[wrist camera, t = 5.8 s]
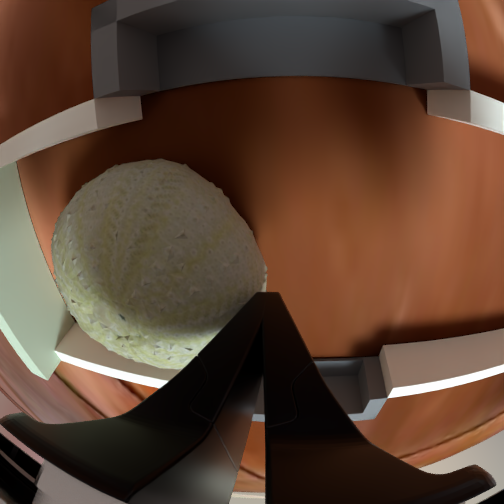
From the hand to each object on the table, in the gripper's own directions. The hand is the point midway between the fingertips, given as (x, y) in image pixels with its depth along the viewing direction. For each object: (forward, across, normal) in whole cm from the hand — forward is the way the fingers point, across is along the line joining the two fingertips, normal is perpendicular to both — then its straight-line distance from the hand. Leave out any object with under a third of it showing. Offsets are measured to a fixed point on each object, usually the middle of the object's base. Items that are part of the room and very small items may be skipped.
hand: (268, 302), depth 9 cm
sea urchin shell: (+3, +5, 0) cm, 6 cm away
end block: (+3, +15, 0) cm, 16 cm away
